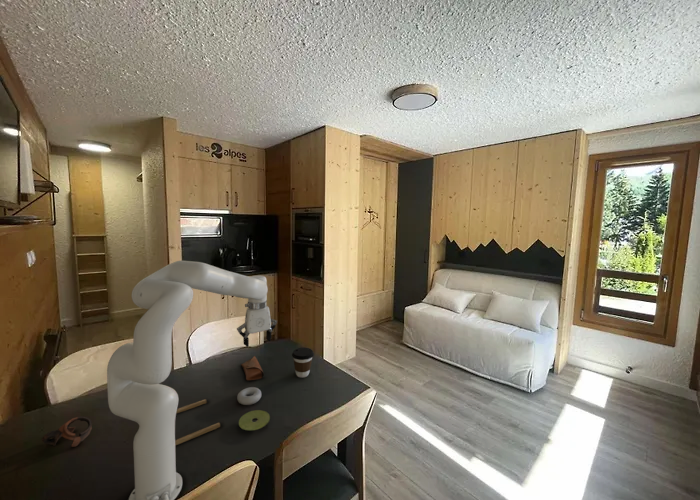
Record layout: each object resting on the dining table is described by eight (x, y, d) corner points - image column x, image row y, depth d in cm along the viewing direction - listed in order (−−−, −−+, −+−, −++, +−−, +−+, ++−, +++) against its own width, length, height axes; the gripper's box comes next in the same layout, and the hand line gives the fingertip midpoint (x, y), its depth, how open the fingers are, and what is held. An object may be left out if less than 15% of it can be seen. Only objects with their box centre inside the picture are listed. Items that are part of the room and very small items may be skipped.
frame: (220, 427, 108) (220, 424, 108) (166, 449, 97) (166, 446, 97) (205, 401, 122) (205, 398, 122) (157, 418, 111) (157, 415, 111)
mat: (248, 440, 102) (248, 434, 102) (233, 424, 110) (233, 419, 109) (275, 423, 111) (275, 419, 111) (259, 410, 118) (259, 406, 118)
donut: (232, 405, 121) (254, 408, 119) (232, 397, 121) (253, 400, 119) (245, 391, 131) (265, 394, 129) (245, 384, 130) (265, 387, 129)
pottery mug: (82, 427, 106) (92, 410, 104) (87, 450, 101) (97, 432, 100) (35, 439, 95) (45, 420, 94) (38, 465, 90) (49, 445, 89)
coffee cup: (287, 378, 143) (288, 354, 142) (296, 367, 153) (297, 345, 152) (308, 381, 140) (309, 358, 139) (316, 370, 151) (317, 348, 150)
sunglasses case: (239, 364, 153) (246, 352, 155) (251, 368, 157) (257, 356, 158) (246, 381, 138) (253, 367, 139) (259, 384, 141) (266, 372, 143)
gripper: (239, 310, 115) (240, 351, 117) (280, 303, 126) (280, 341, 128) (234, 305, 121) (234, 344, 123) (273, 299, 132) (273, 335, 134)
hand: (257, 342), depth 125 cm, fingers open, 9 cm apart
